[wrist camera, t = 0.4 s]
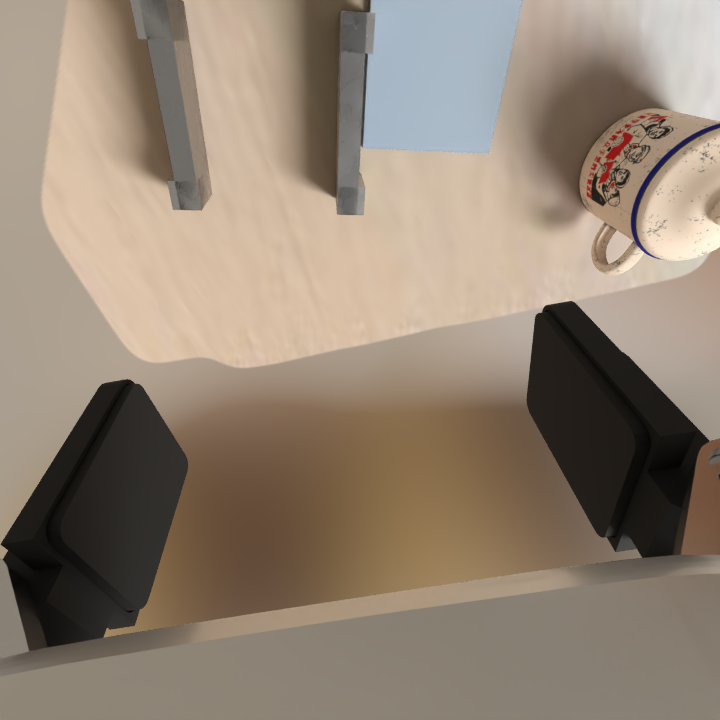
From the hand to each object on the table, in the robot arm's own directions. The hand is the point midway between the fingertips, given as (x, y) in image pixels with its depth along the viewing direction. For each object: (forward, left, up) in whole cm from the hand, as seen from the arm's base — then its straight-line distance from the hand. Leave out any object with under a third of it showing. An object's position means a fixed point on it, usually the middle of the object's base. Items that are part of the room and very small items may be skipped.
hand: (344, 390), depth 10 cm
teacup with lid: (+2, +25, -29) cm, 38 cm away
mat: (-5, +8, -29) cm, 30 cm away
